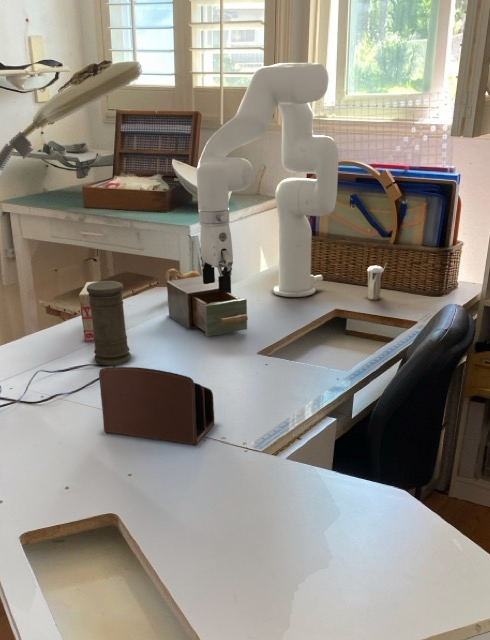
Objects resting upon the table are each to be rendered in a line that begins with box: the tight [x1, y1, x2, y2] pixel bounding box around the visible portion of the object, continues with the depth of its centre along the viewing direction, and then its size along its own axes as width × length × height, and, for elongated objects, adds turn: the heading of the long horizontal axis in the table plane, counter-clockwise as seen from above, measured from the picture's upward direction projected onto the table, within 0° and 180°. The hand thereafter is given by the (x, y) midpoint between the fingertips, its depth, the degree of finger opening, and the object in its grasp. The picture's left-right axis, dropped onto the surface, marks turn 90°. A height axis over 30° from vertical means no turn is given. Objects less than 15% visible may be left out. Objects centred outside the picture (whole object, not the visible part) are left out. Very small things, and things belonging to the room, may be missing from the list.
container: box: [87, 280, 132, 367], centre depth 193 cm, size 9×9×18 cm
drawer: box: [190, 291, 248, 337], centre depth 212 cm, size 18×11×8 cm, turn 25°
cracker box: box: [78, 281, 96, 343], centre depth 216 cm, size 21×6×12 cm, turn 179°
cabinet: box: [166, 275, 232, 330], centre depth 222 cm, size 15×13×10 cm
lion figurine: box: [165, 267, 202, 282], centre depth 243 cm, size 15×5×9 cm, turn 136°
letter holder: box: [98, 366, 215, 446], centre depth 158 cm, size 10×20×14 cm, turn 69°
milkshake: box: [366, 262, 388, 301], centre depth 234 cm, size 4×5×10 cm
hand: (216, 287), depth 210 cm, fingers open, 9 cm apart
